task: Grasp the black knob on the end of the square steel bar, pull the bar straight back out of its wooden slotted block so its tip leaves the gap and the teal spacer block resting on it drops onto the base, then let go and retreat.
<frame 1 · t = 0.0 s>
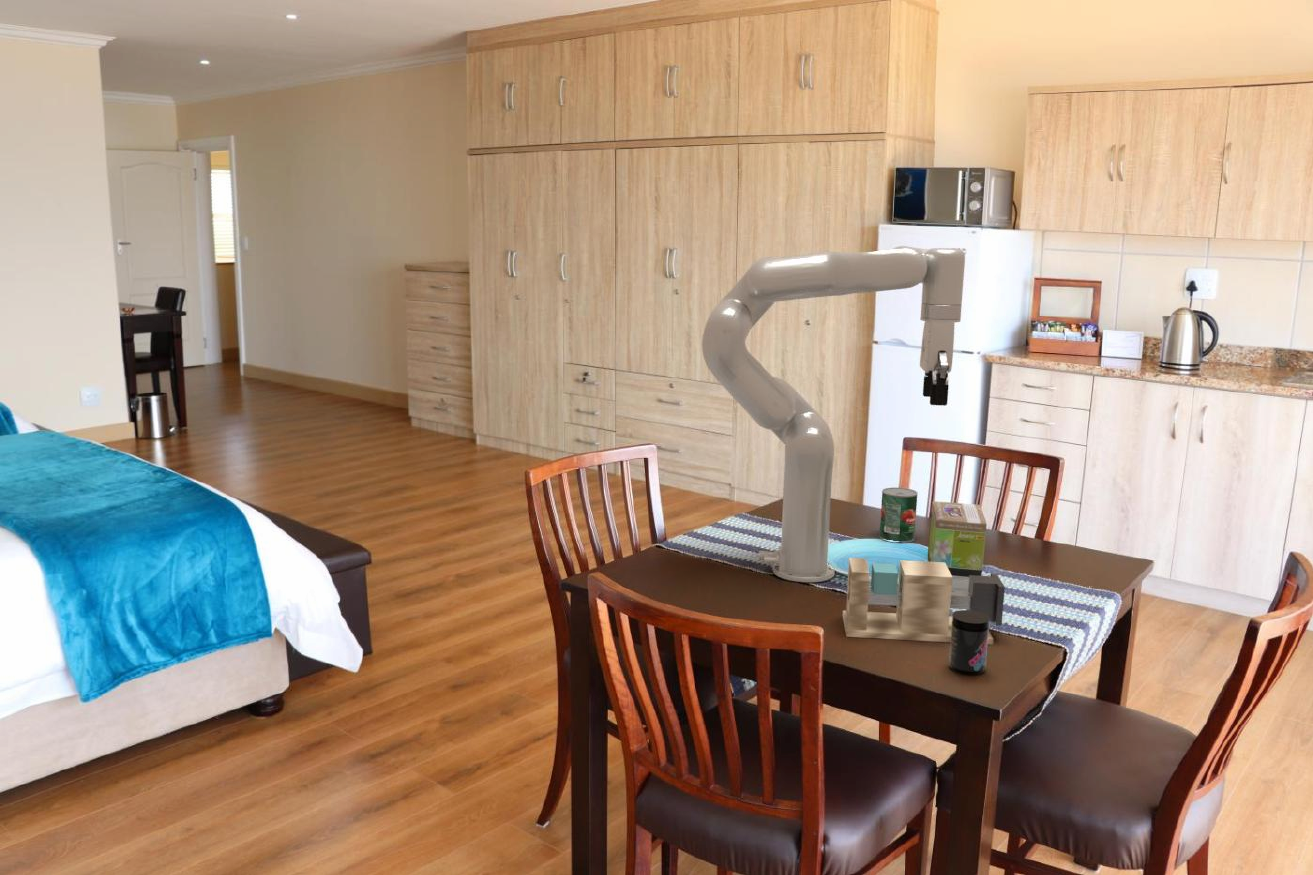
hand: (934, 400, 211), 37 cm above the table, fingers open, 9 cm apart
supplement container: (966, 669, 175), on the table
shaft: (925, 595, 190), point 7 cm above the table, slide at 0.0 cm, touching spacer
wooden slotted block: (915, 629, 192), on the table
canned tomato: (896, 539, 246), on the table
tea box: (952, 581, 218), on the table
spacer: (883, 589, 191), point 7 cm above the table, touching shaft
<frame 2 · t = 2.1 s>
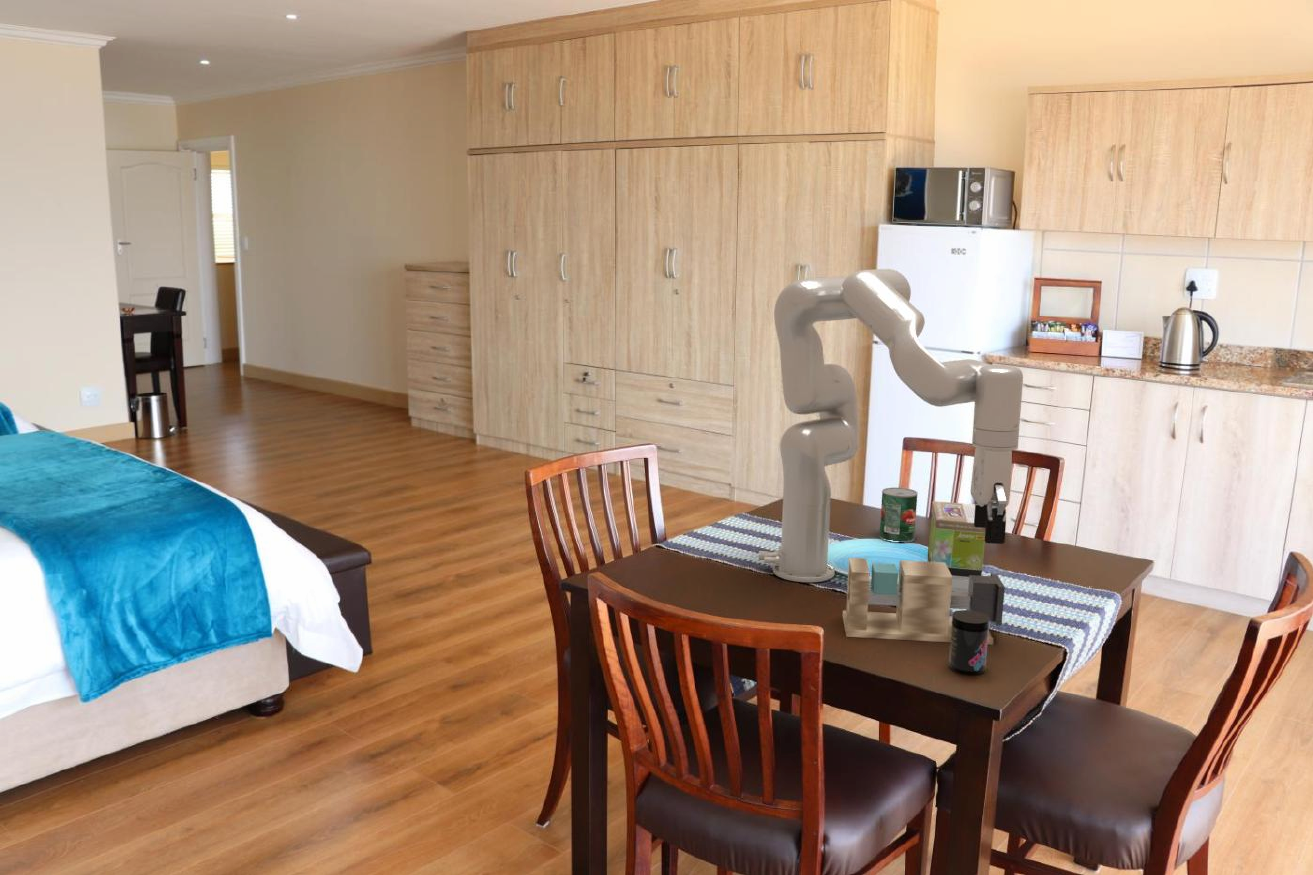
hand: (988, 534, 186), 18 cm above the table, fingers open, 9 cm apart
nothing on the table moved.
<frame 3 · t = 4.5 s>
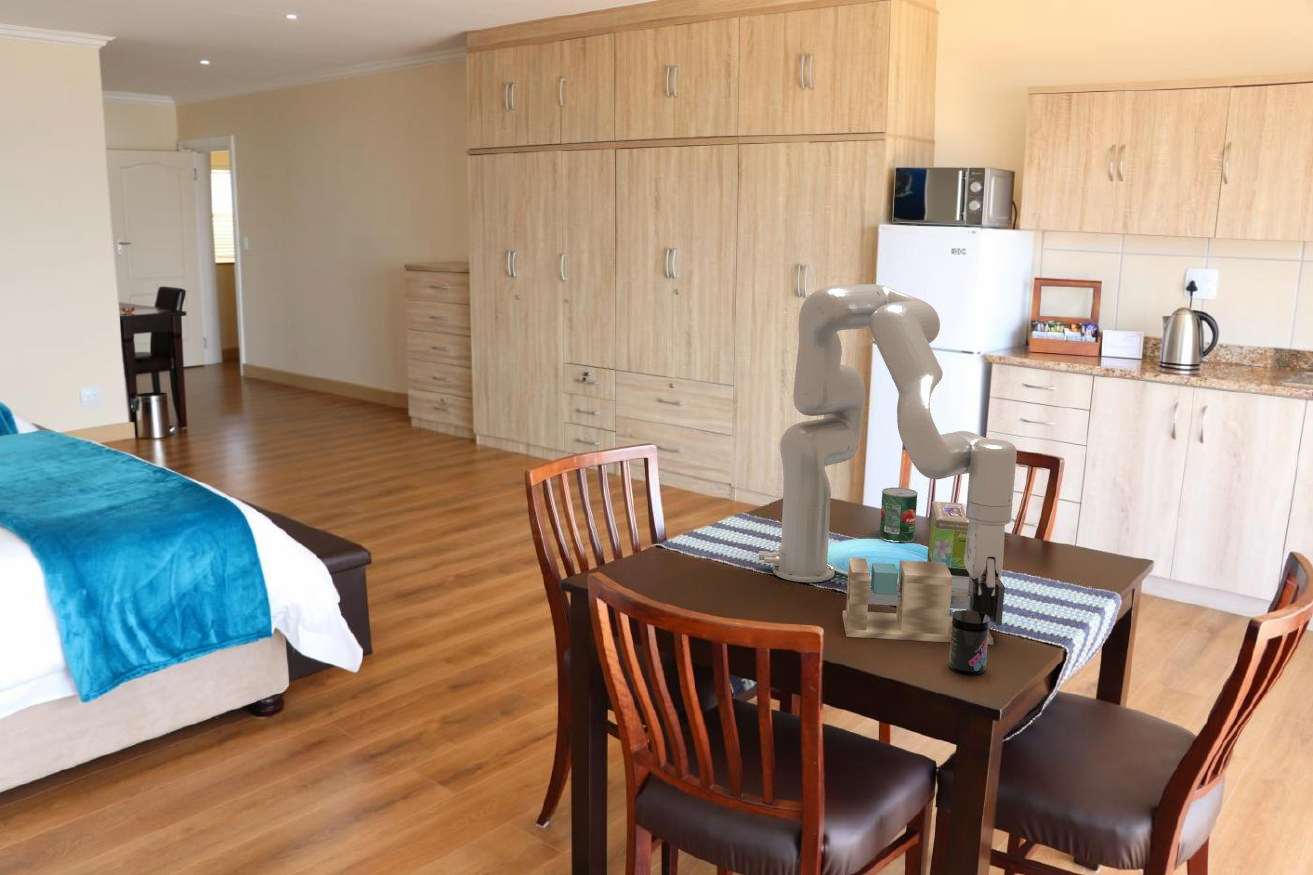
hand: (980, 610, 190), 4 cm above the table, fingers closed on shaft, 4 cm apart
shaft: (925, 595, 190), point 7 cm above the table, slide at 0.0 cm, touching gripper, spacer
everything else where it was.
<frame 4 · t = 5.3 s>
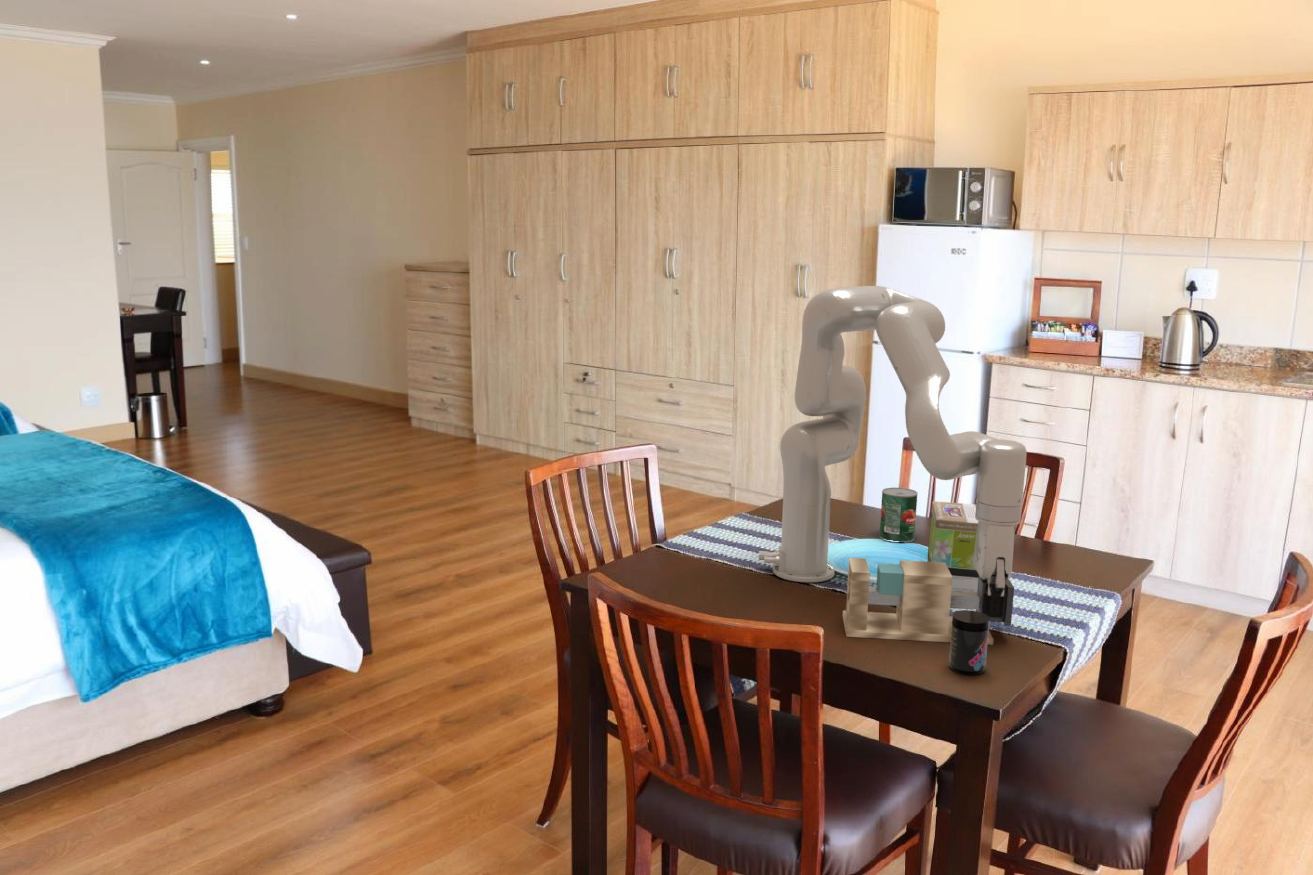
hand: (989, 610, 189), 4 cm above the table, fingers closed on shaft, 4 cm apart
shaft: (934, 595, 190), point 7 cm above the table, slide at 1.6 cm, touching gripper, spacer
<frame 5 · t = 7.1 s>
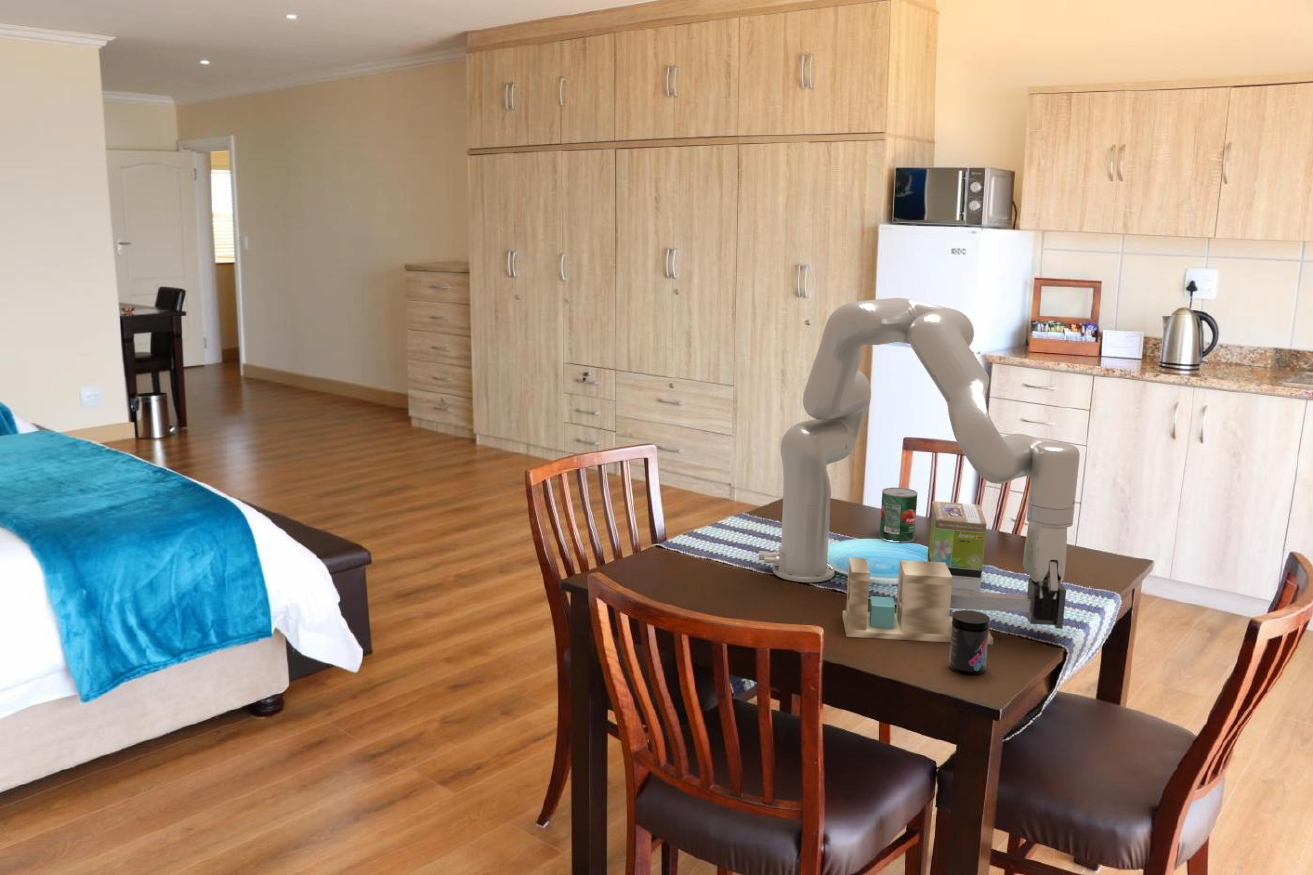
hand: (1040, 613, 189), 4 cm above the table, fingers closed on shaft, 4 cm apart
shaft: (984, 598, 189), point 7 cm above the table, slide at 10.2 cm, touching gripper
spacer: (893, 613, 191), point 3 cm above the table, tilted 90°, touching wooden slotted block
everything else where it was.
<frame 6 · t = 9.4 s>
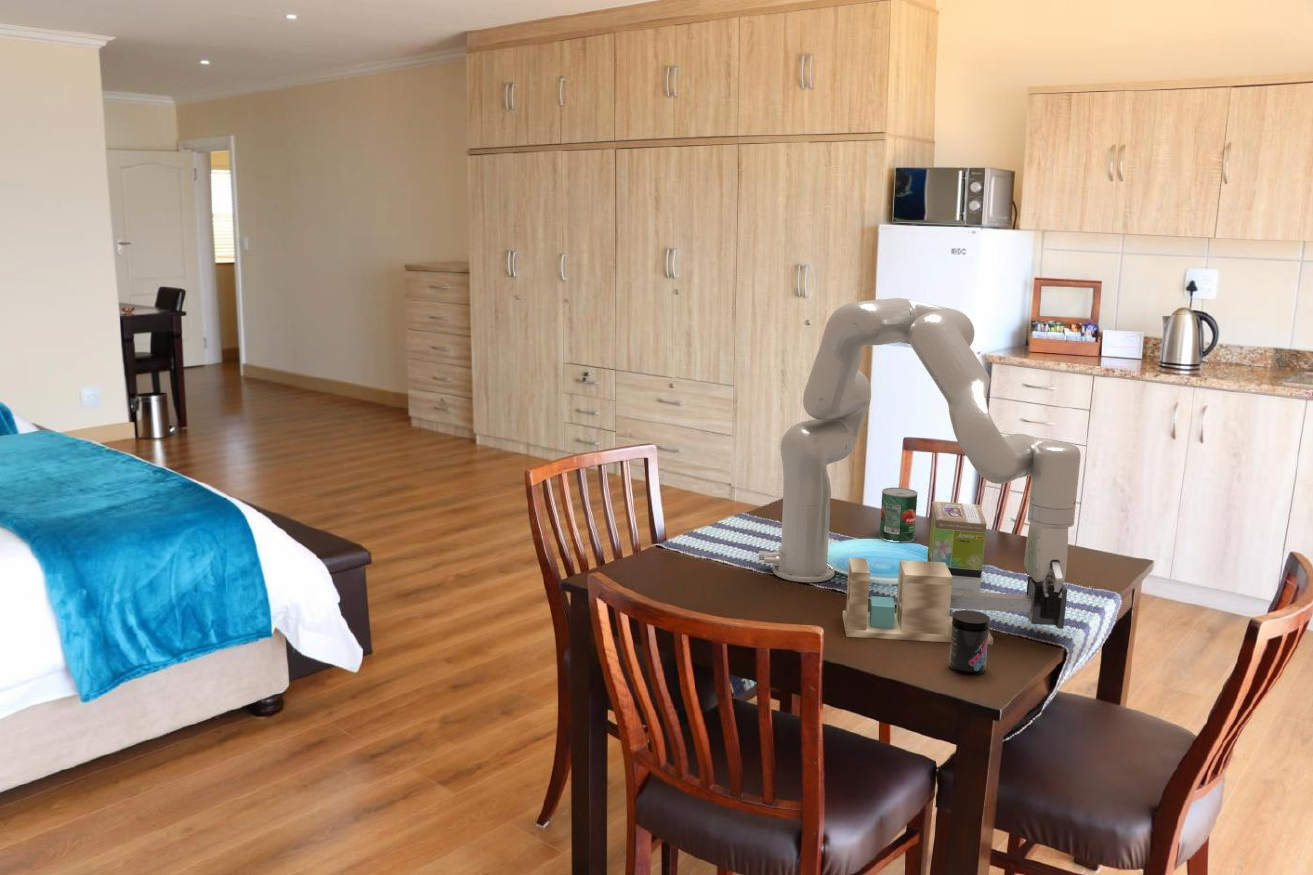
hand: (1042, 608, 188), 5 cm above the table, fingers open, 9 cm apart
shaft: (985, 598, 189), point 7 cm above the table, slide at 10.4 cm
everything else where it was.
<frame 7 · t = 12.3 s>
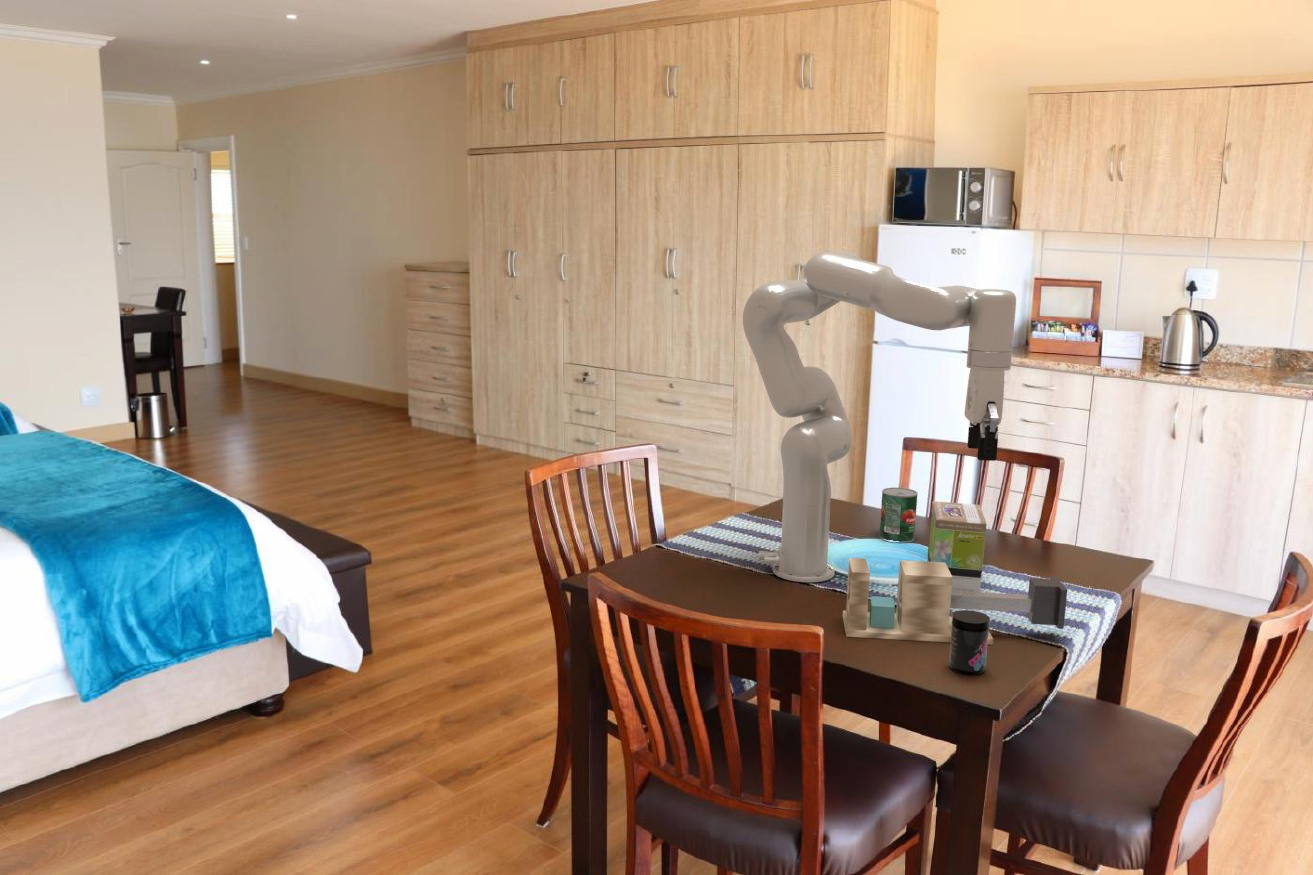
hand: (981, 454, 194), 30 cm above the table, fingers open, 9 cm apart
nothing on the table moved.
at the end: shaft slide at 10.4 cm; spacer inside the target area (1.9 cm from its centre), point 3.0 cm above the table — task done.
